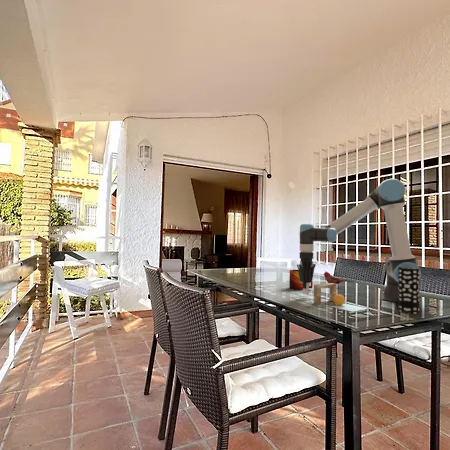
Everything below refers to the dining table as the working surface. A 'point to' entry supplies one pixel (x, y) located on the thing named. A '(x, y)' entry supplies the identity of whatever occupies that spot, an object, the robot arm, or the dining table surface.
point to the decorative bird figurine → (332, 278)
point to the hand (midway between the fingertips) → (306, 294)
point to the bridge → (318, 292)
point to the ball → (339, 299)
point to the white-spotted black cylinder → (408, 290)
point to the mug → (296, 281)
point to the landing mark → (349, 307)
